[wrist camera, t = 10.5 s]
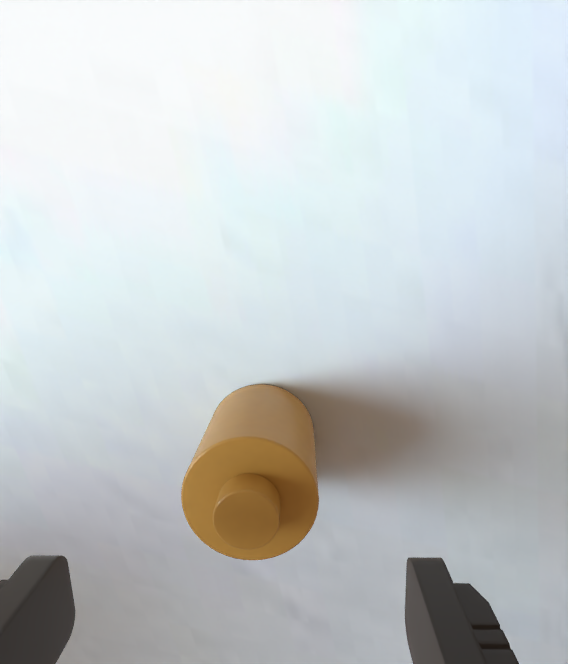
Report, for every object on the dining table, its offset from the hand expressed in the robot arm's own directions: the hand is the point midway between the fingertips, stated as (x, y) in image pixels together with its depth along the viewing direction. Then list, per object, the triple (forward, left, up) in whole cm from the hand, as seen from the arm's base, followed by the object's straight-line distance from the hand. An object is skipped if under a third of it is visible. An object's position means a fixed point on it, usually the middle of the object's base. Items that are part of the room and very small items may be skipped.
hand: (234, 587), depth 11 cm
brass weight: (0, 0, -9) cm, 9 cm away
